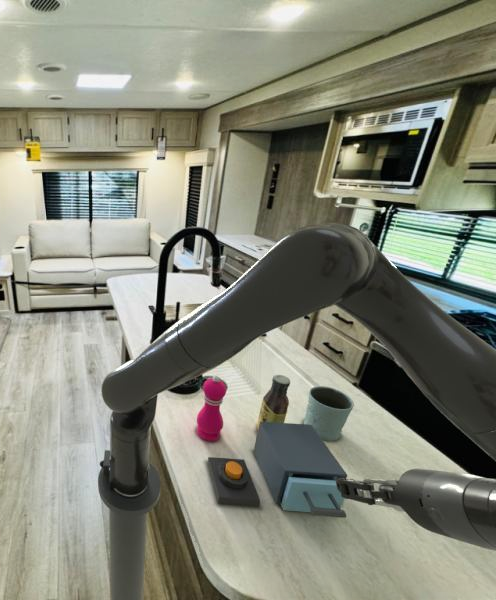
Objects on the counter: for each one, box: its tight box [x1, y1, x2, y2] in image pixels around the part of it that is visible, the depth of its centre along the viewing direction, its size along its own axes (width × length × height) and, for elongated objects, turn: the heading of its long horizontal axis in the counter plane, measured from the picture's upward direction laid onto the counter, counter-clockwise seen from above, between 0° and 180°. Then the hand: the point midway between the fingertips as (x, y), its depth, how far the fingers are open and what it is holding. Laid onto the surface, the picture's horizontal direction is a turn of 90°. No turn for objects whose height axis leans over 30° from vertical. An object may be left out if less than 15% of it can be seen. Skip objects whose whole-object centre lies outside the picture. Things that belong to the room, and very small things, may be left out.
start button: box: [225, 461, 242, 480], centre depth 75 cm, size 4×4×2 cm
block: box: [206, 456, 261, 508], centre depth 76 cm, size 9×11×4 cm
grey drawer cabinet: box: [252, 422, 348, 505], centre depth 75 cm, size 15×13×11 cm
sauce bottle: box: [256, 374, 291, 433], centre depth 87 cm, size 6×6×20 cm
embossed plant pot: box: [303, 385, 355, 442], centre depth 89 cm, size 10×10×12 cm
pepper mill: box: [196, 375, 227, 442], centre depth 88 cm, size 7×7×20 cm
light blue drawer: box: [280, 473, 347, 519], centre depth 71 cm, size 18×11×9 cm, turn 174°
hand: (366, 486), depth 53 cm, fingers open, 8 cm apart
